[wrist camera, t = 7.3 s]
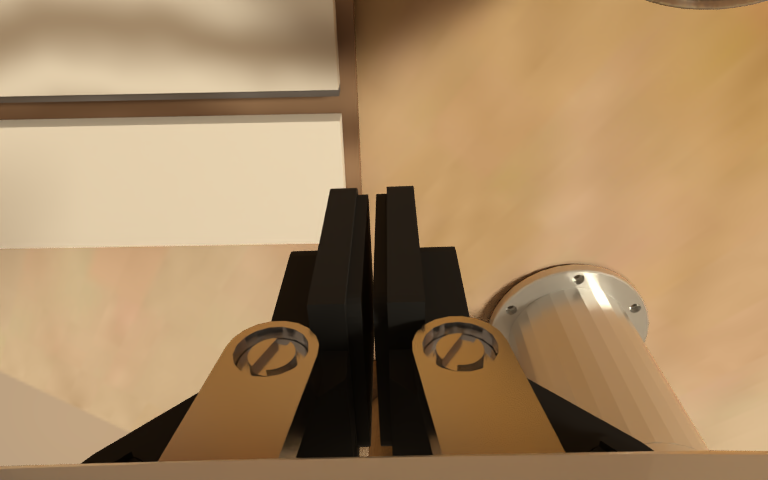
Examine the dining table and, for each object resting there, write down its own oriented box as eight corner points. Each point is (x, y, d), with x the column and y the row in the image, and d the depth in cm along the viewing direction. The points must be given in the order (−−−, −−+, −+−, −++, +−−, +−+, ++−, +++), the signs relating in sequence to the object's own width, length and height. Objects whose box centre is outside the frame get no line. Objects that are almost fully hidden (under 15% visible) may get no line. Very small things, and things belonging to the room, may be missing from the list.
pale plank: (348, 231, 41) (347, 243, 39) (12, 237, 41) (-1, 248, 40) (341, 113, 36) (340, 121, 35) (-33, 120, 37) (-50, 128, 35)
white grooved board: (363, 222, 42) (361, 241, 39) (9, 228, 42) (-14, 248, 40) (352, -35, 33) (349, -31, 31) (-91, -26, 34) (-128, -21, 31)
